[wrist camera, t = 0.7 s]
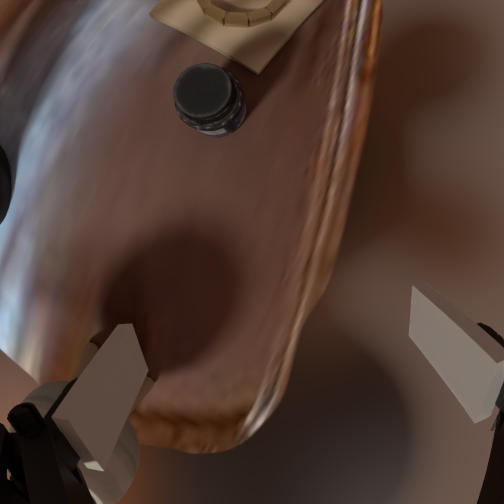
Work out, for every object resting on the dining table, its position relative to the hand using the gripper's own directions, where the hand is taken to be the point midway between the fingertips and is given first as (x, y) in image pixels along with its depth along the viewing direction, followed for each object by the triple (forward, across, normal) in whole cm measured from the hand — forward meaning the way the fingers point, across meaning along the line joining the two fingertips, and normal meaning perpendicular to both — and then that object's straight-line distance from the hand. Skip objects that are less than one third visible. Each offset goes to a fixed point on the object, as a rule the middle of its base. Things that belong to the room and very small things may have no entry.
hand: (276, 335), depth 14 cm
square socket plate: (+23, +2, +29) cm, 37 cm away
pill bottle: (+24, -3, +14) cm, 27 cm away
